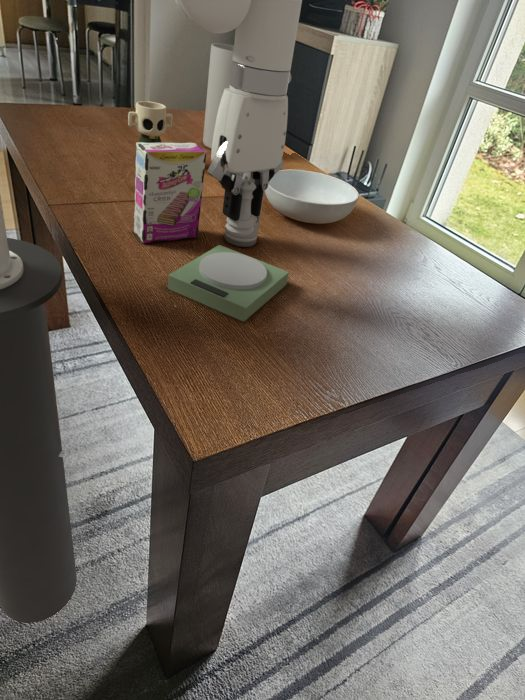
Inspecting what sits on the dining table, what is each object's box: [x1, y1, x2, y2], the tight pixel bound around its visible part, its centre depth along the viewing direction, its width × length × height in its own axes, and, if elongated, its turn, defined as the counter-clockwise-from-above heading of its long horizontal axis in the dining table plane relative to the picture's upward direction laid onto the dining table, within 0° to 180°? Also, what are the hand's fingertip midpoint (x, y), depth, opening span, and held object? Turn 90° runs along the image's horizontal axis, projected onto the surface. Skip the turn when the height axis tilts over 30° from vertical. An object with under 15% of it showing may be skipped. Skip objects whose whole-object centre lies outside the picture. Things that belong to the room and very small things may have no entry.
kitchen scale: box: [167, 244, 290, 323], centre depth 82 cm, size 15×14×3 cm
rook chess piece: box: [224, 176, 256, 236], centre depth 76 cm, size 4×4×8 cm
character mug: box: [127, 100, 174, 143], centre depth 123 cm, size 11×7×13 cm, turn 117°
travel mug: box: [224, 172, 265, 248], centre depth 92 cm, size 6×7×20 cm
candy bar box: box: [133, 141, 207, 244], centre depth 90 cm, size 11×5×16 cm, turn 122°
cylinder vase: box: [202, 42, 234, 150], centre depth 139 cm, size 12×12×25 cm
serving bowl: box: [264, 168, 360, 225], centre depth 112 cm, size 21×21×7 cm
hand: (241, 214), depth 76 cm, fingers closed on rook chess piece, 3 cm apart
